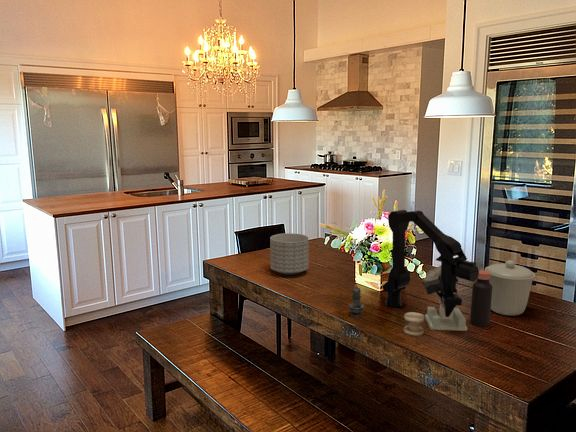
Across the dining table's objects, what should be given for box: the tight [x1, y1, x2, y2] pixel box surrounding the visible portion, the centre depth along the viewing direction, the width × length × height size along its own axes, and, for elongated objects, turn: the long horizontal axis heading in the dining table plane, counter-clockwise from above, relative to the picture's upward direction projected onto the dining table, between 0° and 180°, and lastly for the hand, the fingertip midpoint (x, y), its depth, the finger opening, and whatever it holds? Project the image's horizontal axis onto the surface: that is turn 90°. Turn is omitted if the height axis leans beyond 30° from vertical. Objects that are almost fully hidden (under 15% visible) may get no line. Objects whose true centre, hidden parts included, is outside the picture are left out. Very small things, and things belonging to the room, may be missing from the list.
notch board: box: [424, 306, 468, 332], centre depth 178 cm, size 11×13×4 cm
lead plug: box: [438, 302, 453, 319], centre depth 177 cm, size 4×4×6 cm
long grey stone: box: [422, 265, 441, 284], centre depth 233 cm, size 35×5×10 cm
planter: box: [269, 232, 309, 276], centre depth 237 cm, size 19×19×18 cm
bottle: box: [469, 269, 492, 327], centre depth 177 cm, size 7×7×20 cm
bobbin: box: [403, 311, 425, 337], centre depth 171 cm, size 7×7×6 cm
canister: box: [484, 259, 536, 317], centre depth 189 cm, size 18×18×21 cm
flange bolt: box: [348, 285, 365, 318], centre depth 186 cm, size 6×6×12 cm
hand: (445, 314), depth 178 cm, fingers closed on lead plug, 4 cm apart
